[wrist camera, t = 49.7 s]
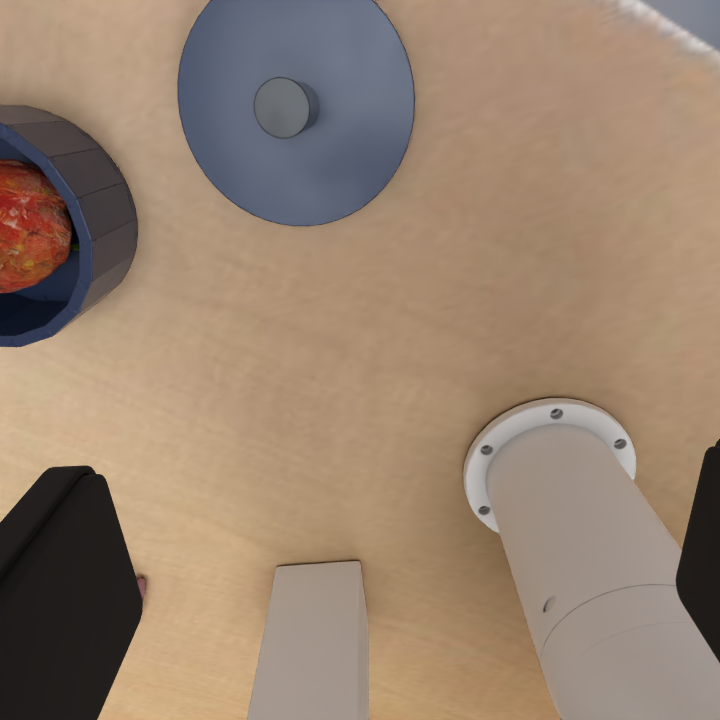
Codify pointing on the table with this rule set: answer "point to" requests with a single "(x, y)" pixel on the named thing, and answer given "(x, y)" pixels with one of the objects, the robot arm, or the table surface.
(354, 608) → the milk carton
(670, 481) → the table surface
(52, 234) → the pomegranate
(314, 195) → the lid
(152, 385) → the table surface
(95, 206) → the bowl
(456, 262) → the table surface
